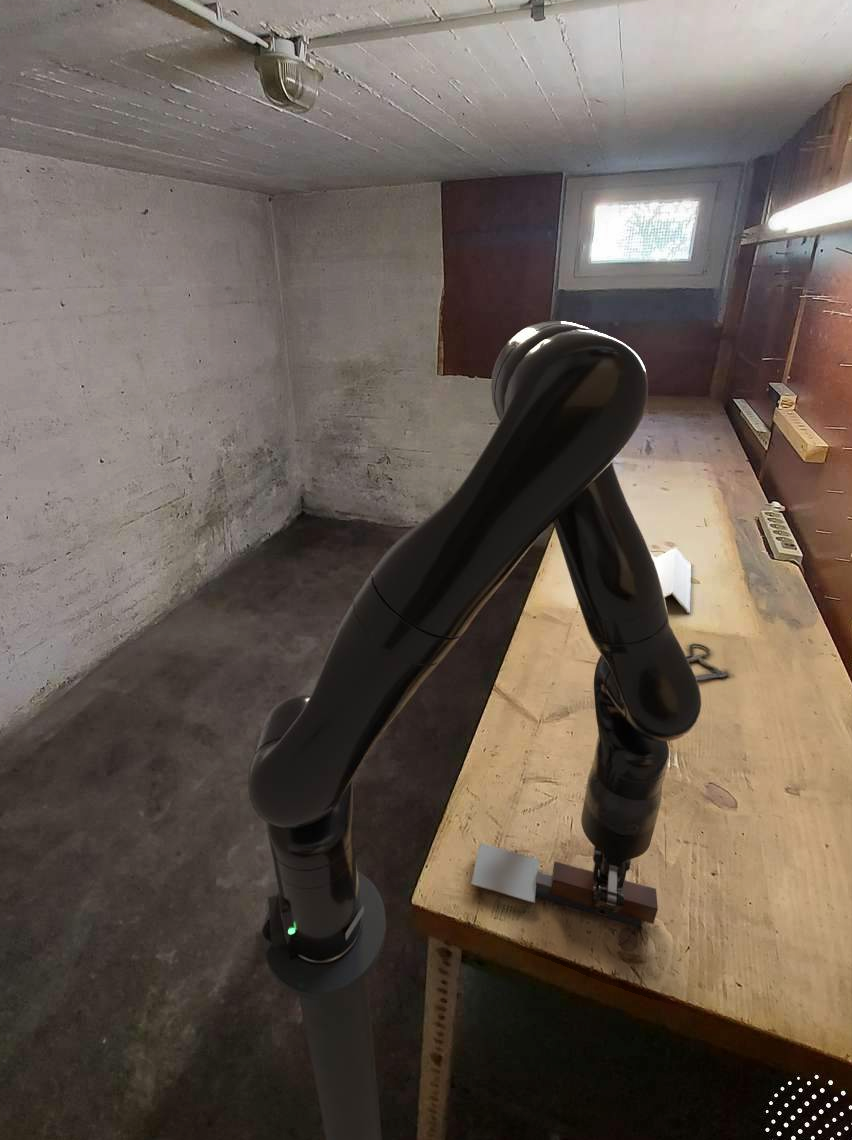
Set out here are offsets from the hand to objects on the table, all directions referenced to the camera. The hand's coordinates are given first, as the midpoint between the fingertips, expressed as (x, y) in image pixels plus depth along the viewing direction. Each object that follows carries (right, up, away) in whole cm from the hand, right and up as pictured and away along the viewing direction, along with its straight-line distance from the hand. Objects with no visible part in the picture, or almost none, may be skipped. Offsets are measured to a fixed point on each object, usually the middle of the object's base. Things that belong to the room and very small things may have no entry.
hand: (600, 897), depth 70 cm
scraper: (-5, 0, +2) cm, 5 cm away
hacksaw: (+28, +19, +41) cm, 53 cm away
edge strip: (-4, -1, +2) cm, 4 cm away
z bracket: (+41, +34, +71) cm, 89 cm away
